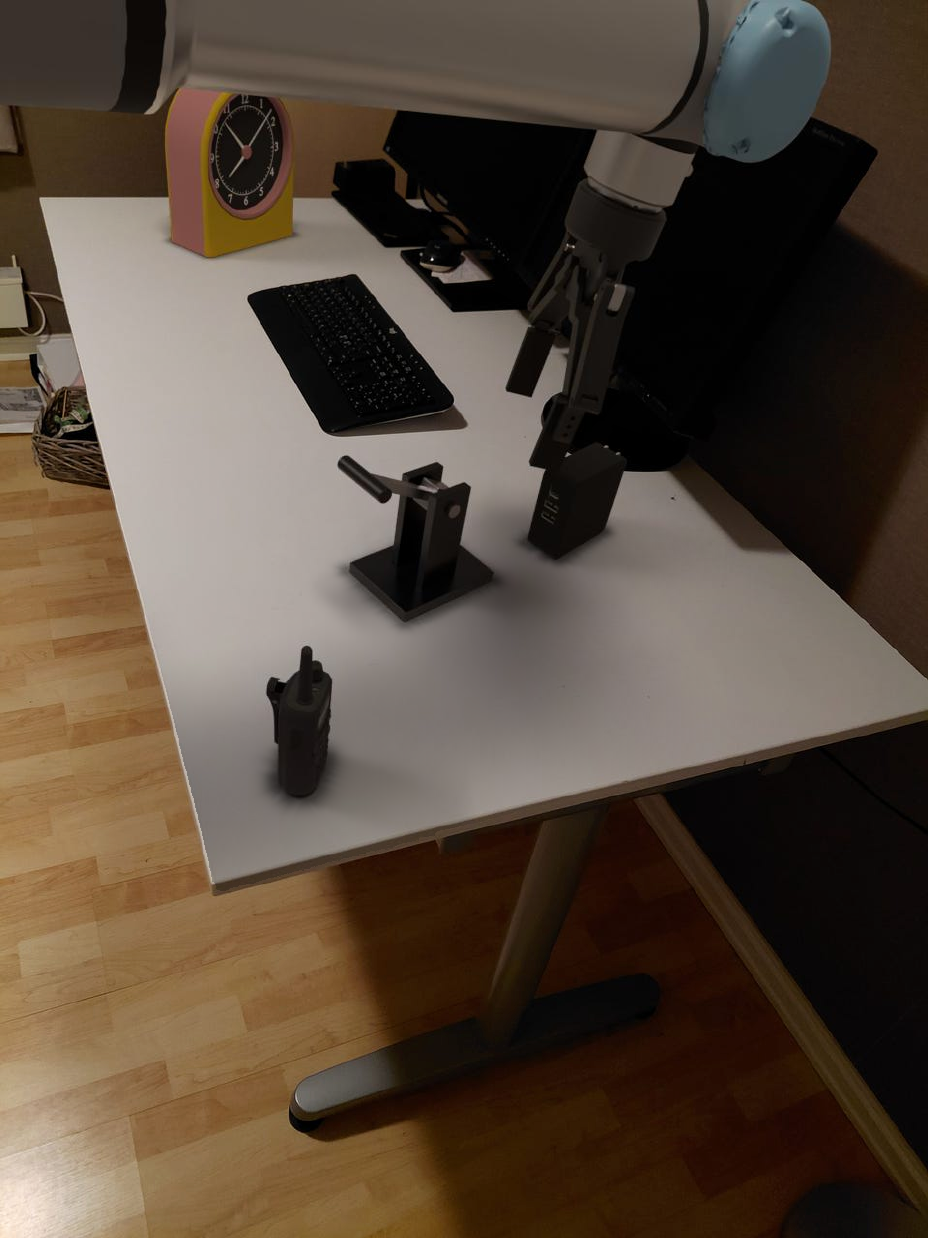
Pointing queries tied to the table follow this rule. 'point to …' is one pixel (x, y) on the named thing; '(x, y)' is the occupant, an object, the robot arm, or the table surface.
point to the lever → (388, 484)
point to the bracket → (424, 552)
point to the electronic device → (576, 499)
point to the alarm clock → (228, 170)
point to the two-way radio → (301, 724)
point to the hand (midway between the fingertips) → (529, 427)
